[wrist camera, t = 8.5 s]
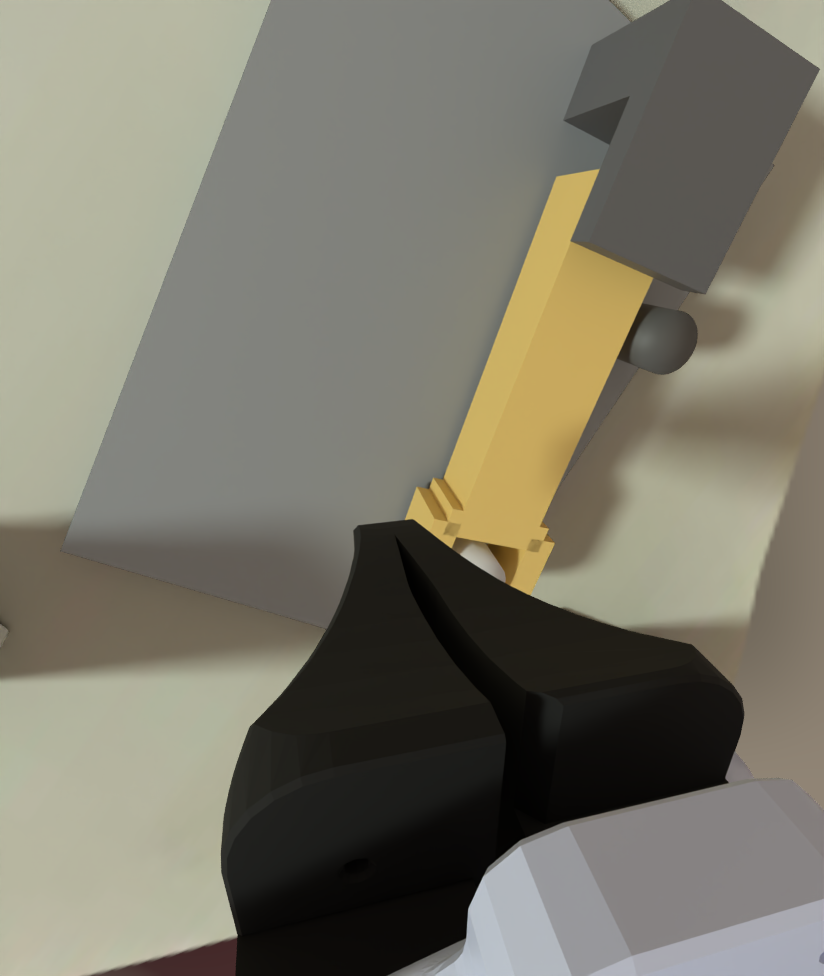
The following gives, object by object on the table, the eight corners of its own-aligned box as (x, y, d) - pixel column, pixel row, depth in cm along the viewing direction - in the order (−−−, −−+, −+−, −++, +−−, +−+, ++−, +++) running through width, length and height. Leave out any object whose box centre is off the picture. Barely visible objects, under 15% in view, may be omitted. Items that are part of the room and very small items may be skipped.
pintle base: (752, 168, 20) (910, 148, 15) (435, 647, 26) (473, 746, 21) (358, -213, 14) (406, -465, 9) (69, 536, 20) (2, 638, 15)
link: (487, 597, 24) (510, 637, 21) (382, 581, 22) (395, 622, 20) (653, 221, 18) (708, 220, 16) (531, 165, 17) (572, 155, 14)
